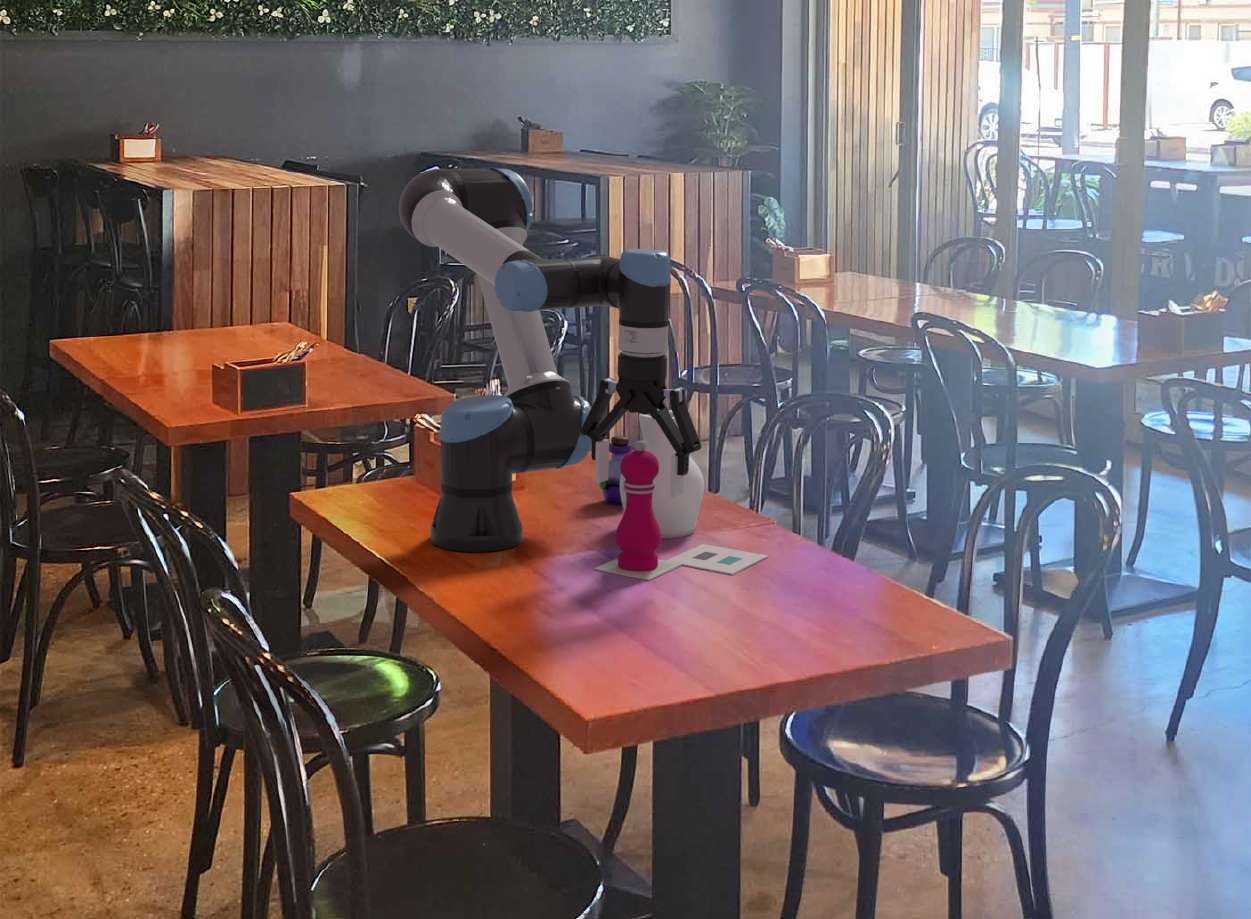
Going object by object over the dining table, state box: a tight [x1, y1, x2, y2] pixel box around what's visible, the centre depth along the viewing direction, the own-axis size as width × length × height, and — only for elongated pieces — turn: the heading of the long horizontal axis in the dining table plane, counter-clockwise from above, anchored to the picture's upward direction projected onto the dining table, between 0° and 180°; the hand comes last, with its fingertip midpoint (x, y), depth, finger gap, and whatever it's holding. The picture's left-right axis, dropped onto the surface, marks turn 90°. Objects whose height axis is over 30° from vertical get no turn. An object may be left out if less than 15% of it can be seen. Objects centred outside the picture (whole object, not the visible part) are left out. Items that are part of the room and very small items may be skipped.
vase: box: [620, 409, 705, 539], centre depth 272 cm, size 14×14×20 cm
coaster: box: [593, 557, 683, 582], centre depth 252 cm, size 10×10×1 cm
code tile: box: [665, 543, 769, 576], centre depth 257 cm, size 12×12×1 cm
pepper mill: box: [614, 440, 663, 571], centre depth 249 cm, size 7×7×20 cm
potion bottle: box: [598, 435, 633, 506], centre depth 291 cm, size 9×9×12 cm
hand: (638, 488), depth 249 cm, fingers open, 13 cm apart
